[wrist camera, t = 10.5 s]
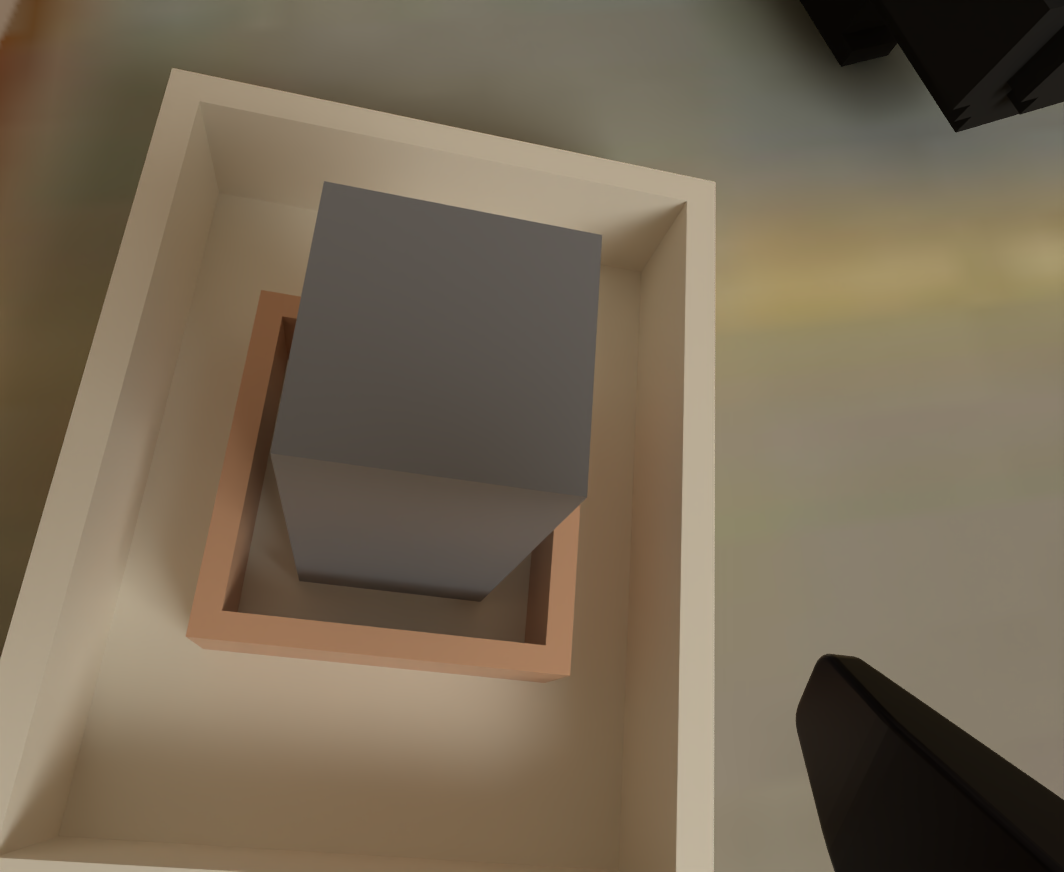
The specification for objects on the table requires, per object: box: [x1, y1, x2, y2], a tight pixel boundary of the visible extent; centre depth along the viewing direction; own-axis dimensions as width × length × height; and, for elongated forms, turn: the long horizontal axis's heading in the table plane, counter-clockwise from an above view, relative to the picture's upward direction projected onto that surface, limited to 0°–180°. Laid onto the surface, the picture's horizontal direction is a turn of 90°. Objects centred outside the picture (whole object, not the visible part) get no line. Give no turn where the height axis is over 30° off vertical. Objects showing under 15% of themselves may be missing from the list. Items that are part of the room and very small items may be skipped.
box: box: [0, 68, 715, 872], centre depth 21 cm, size 18×14×4 cm
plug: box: [270, 181, 602, 602], centre depth 17 cm, size 4×4×10 cm
